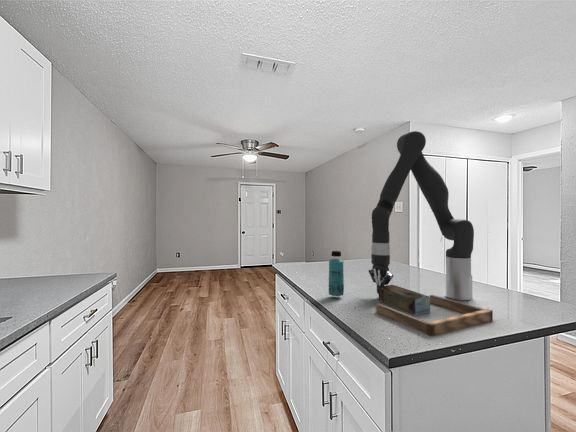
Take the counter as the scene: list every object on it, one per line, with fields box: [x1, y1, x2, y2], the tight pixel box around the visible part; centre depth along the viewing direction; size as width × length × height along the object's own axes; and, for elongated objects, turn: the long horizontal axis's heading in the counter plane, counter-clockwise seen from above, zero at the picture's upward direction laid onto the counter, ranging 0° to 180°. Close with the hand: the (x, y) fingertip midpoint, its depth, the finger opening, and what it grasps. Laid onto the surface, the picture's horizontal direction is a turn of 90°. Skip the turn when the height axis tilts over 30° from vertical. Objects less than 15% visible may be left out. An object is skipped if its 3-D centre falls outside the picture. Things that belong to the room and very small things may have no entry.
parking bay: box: [376, 294, 494, 337], centre depth 97 cm, size 29×22×3 cm
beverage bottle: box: [327, 250, 345, 297], centre depth 120 cm, size 6×7×20 cm
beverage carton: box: [377, 284, 432, 316], centre depth 109 cm, size 8×19×7 cm, turn 23°
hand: (380, 293), depth 120 cm, fingers closed
